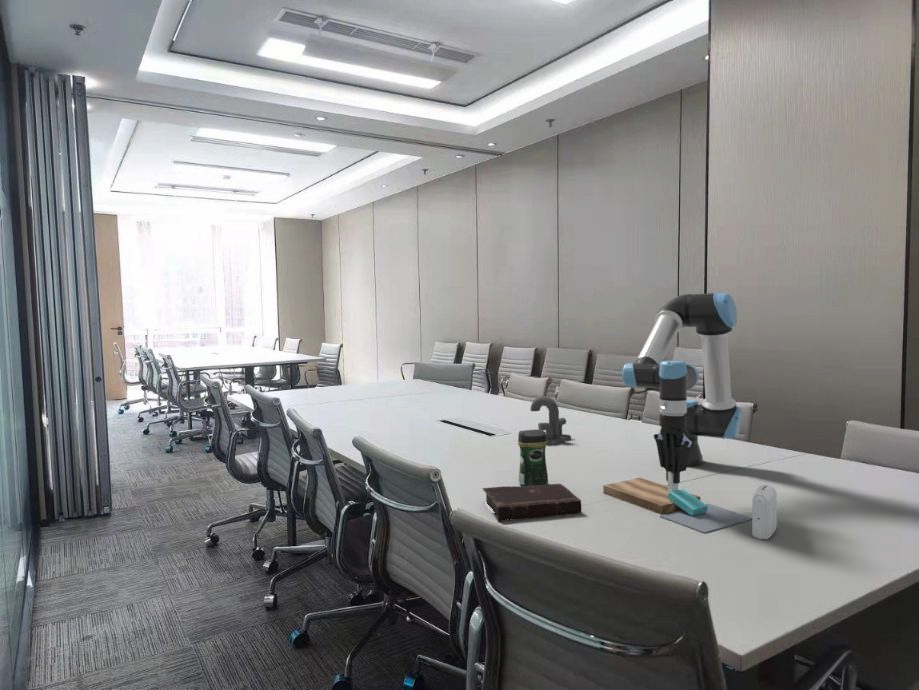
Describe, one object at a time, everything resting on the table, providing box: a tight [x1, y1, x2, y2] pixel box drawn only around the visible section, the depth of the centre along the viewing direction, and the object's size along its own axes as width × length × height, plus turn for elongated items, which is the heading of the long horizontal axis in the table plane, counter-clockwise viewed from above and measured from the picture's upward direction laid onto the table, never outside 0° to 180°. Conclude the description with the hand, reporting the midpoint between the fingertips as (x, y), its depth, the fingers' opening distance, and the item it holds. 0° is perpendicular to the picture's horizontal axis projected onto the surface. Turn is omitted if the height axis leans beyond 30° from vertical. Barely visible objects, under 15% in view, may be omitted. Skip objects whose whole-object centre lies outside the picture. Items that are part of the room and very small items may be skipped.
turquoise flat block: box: [668, 488, 708, 516], centre depth 172 cm, size 6×9×2 cm, turn 29°
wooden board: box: [602, 477, 701, 515], centre depth 185 cm, size 16×24×2 cm, turn 29°
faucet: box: [529, 395, 572, 446], centre depth 271 cm, size 18×16×20 cm
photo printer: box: [751, 484, 778, 540], centre depth 155 cm, size 10×4×12 cm, turn 140°
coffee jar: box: [517, 429, 549, 487], centre depth 202 cm, size 10×8×19 cm
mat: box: [659, 503, 752, 534], centre depth 167 cm, size 20×15×1 cm
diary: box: [482, 483, 582, 522], centre depth 179 cm, size 19×25×5 cm
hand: (673, 493), depth 177 cm, fingers closed
